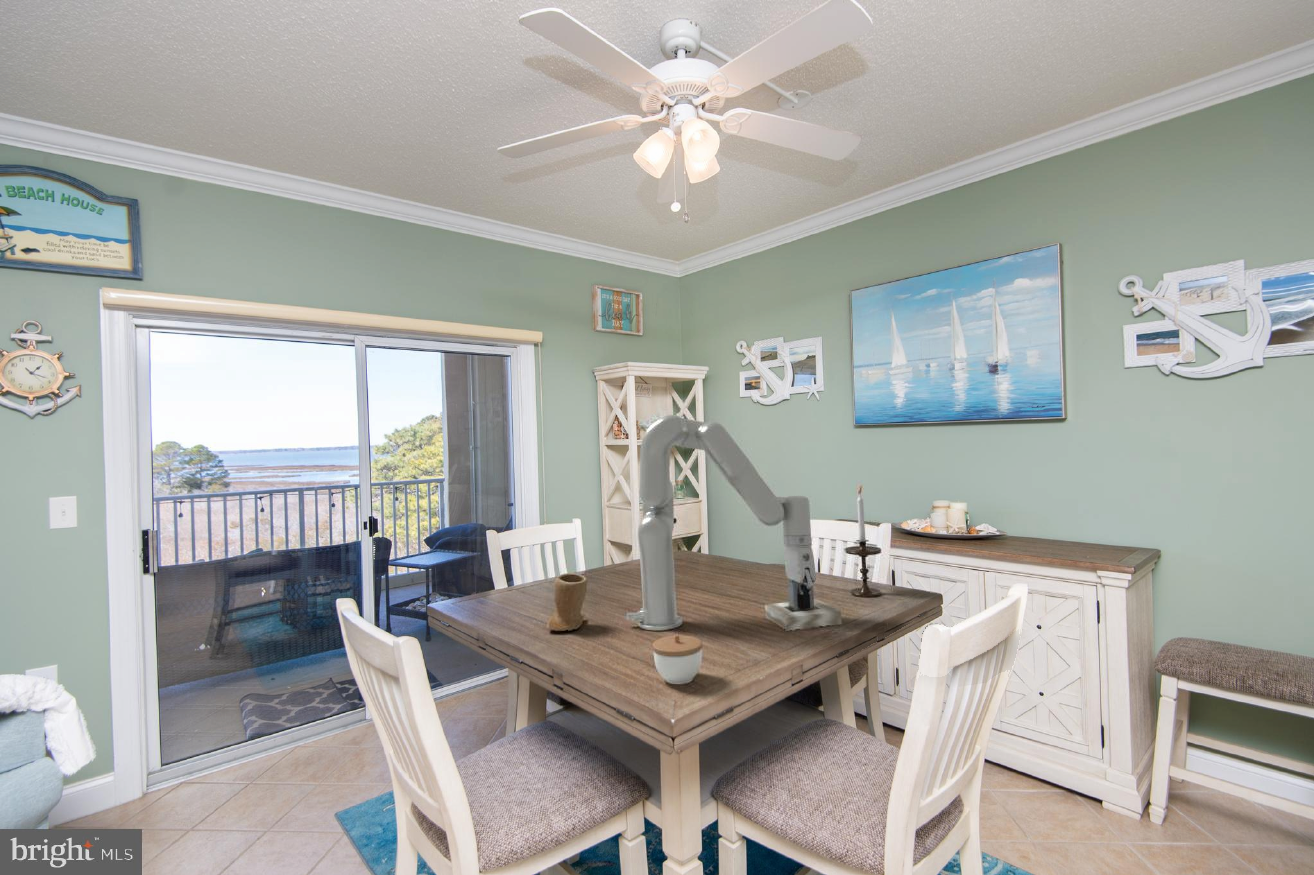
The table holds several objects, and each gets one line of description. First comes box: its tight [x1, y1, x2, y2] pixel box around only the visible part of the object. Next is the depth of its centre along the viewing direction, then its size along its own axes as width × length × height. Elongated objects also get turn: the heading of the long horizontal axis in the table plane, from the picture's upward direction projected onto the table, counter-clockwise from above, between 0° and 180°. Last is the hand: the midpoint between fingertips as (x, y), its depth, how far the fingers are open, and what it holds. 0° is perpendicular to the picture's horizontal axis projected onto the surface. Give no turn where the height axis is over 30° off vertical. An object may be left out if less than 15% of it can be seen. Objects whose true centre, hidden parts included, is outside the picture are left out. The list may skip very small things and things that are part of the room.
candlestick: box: [844, 484, 882, 599], centre depth 189 cm, size 11×11×35 cm
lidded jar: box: [652, 634, 703, 685], centre depth 128 cm, size 11×11×9 cm
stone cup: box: [546, 572, 588, 632], centre depth 171 cm, size 15×12×15 cm
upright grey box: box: [787, 580, 815, 612], centre depth 164 cm, size 6×4×8 cm, turn 103°
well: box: [764, 598, 842, 632], centre depth 164 cm, size 16×14×4 cm
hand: (801, 605), depth 164 cm, fingers closed on upright grey box, 3 cm apart
